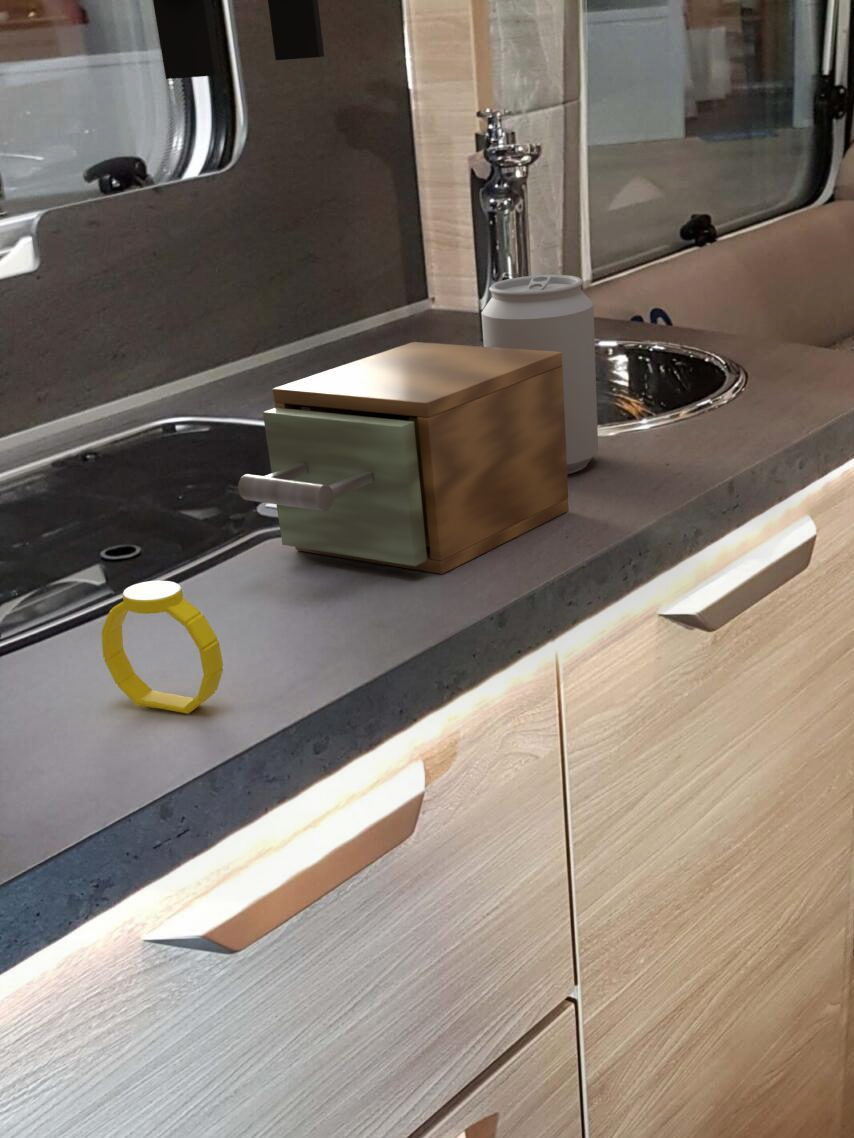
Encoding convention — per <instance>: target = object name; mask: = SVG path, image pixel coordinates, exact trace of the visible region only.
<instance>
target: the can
mask: <svg viewBox="0 0 854 1138" xmlns="http://www.w3.org/2000/svg"><path fill="white" fill-rule="evenodd" d="M582 285H584V280H583V279H582V278H580V276H579V277H578V276H574V275H567V274H541V275H528V276H527V275H526V276H520V277H512V278H508V279H504V280H499V281H497V282H494V283H492V284H491V285H490V286H489V289H488V290H489V291H490V293H491V297H490V299H489V301H488V302H487V303H486V305H485V307H484V308H483V309H482V310H481V325H482V340H483V342H482V343H483V347H495V348H510V349H525V350H540V351H555V352H562V366H563V387H564V410H565V433H566V456H567V475H570V474H573V473H576V472H577V473H578V472H579V471H582V470H583V469H585V468H586V467H587V465H588V463H589V462H590V461H591V460H592V459H594V457H595V456H596V455H597V453H598V451H599V431H598V430H599V429H598V405H597V404H598V403H597V401H598V400H597V399H598V398H597V373H596V371H597V370H596V342H595V341H596V340H595V311H594V309H595V308H594V307H595V306H594V303H593V301H592V300H591V299H590V298H589V297H588V296H587V295H586V294H585V292H584V291H583V290H582Z"/></svg>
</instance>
